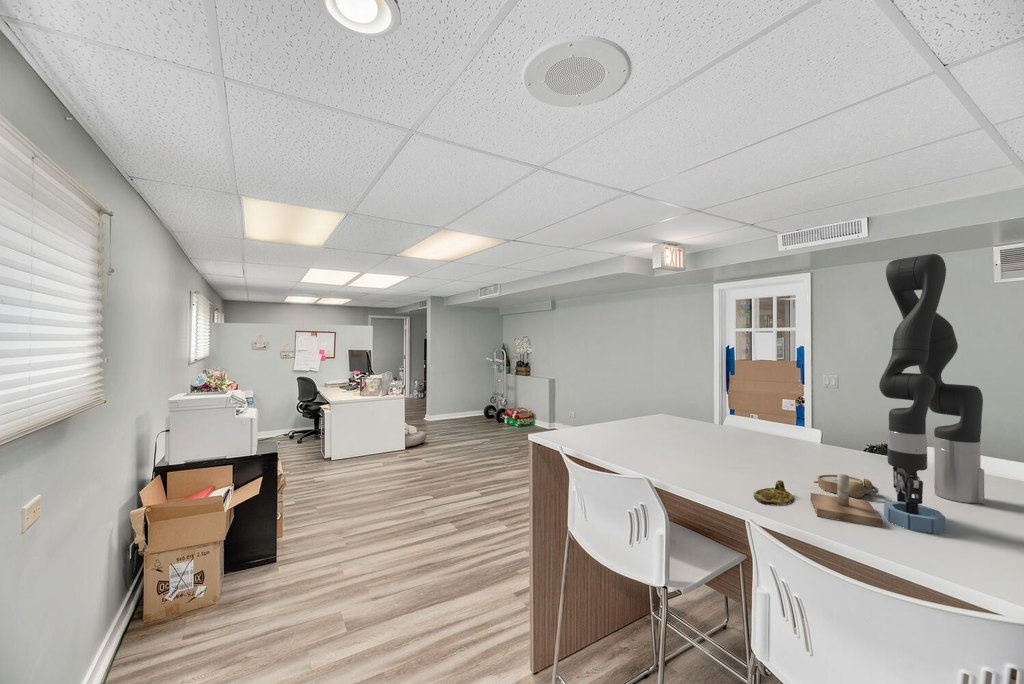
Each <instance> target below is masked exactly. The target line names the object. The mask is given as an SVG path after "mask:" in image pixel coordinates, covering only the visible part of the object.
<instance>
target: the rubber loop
mask: <svg viewBox="0 0 1024 684" xmlns="http://www.w3.org/2000/svg"><path fill="white" fill-rule="evenodd" d="M883 506H884V507H883V512H884V513H883V517H884V516H885V517H884V518H885V520H886V521H887V520H888V521H887V522H888V523H890V524H892V523H893V525H895V524H896V525H895V526H897V525H898V526H897V527H900V526H901V528H903V527H904V528H903V529H906V528H907V529H906V530H910V531H914V530H915V531H914V532H920V531H922V533H926V532H928V533H927V534H934V533H935V534H939V532H940V533H944V531H945V532H946V516H945V515H944V513H941V512H940V511H939V510H937V509H934V508H931V507H928V506H924V505H922V504H918V515H914V514H909V513H906V504H905V502H899V501H897V500H894V501H886V502H884V503H883Z"/></svg>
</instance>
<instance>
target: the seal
mask: <svg viewBox="0 0 1024 684" xmlns="http://www.w3.org/2000/svg"><path fill="white" fill-rule="evenodd" d="M753 498H754V499H755V501H757V502H758V503H760V504H766V505H771V504H772V505H771V506H785V504H787V505H789V504H788V503H790V504H792V503H793V502H794V497H793V495H792V493H791V492H789V491H787V489H786V488H785V484H784V481H783V480H777V481H776V482H775V486H774V487H768V488H767V487H766V488H761V489H758V490H756V491H754V492H753Z"/></svg>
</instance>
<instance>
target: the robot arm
mask: <svg viewBox="0 0 1024 684" xmlns="http://www.w3.org/2000/svg"><path fill="white" fill-rule="evenodd" d="M885 277H886V282H887V284H888V288H889V290H890V291H891V294H892V296H893V298H894V300H895V302H896V305H897V307H898V309H899V311H900V314H901V317H902V320H901V321H900V323H899V324H898V325H897V327H896V329H895V330H894V334H893V339H892V349H891V356H890V357H889V358H890V359H889V361H888V364H887V365H886V368H885V370H884V372H883V374H882V375H881V378H880V380H879V384H878V388H879V391H880V393H881V394H882V396H884V397H886V398H888V399H893V400H894V399H895V400H906V401H908V400H909V401H913V403H912V405H911V406H909V407H896V408H891V409H890V410H889V412H888V433H887V434H888V435H887V463H888V465H889V466H891V467H892V472H893V473H892V474H893V475H892V476H893V485H892V486H893V488H894V489H895V492H896V498H897V499H896V502H897V501H899V502H905V504H906V513H909V514H914V515H918V505H922V504H923V495H924V493H923V491H924V490H923V489H924V488H923V487H924V482H923V480H921V478H920V476H918V472H919V471H926V470H927V469H928V439H927V434H926V433H927V432H926V431H927V428H926V427H927V426H926V425H927V424H926V422H927V421H926V420H927V414H928V410H929V409H930V411H931V412H933V413H935V414H940V415H947V416H954V417H960V419H959V421H958V422H956V423H954V424H947V425H939V426H937V427H934V430H933V431H934V432H933V434H934V435H933V441H934V443H933V444H934V445H933V446H934V448H933V453H934V458H933V459H934V461H933V462H934V464H933V465H934V466H933V467H934V477H933V478H934V485H933V486H934V494H935V495H936V496H938V497H941V498H943V499H947V500H951V501H955V502H960V503H968V504H985V469H983V468H982V467H981V466H982V465H981V460H982V459H981V458H982V457H981V456H982V455H981V435H982V422H983V421H982V418H983V407H984V405H983V404H984V403H983V402H984V396H983V393H982V391H981V389H980V388H979V387H977V386H975V385H970V384H969V385H968V384H957V383H955V384H954V383H946V382H943V381H944V380H943V379H942V373H943V371H944V369H945V368H946V366H948V364H949V362H951V360H952V359H953V358H954V357H955V354H956V353H957V352H958V347H959V344H958V340H957V338H956V333H955V331H954V327H953V325H952V324H951V323H950V322H949V321H948V320H947V319H946V318H945V317H944V316H943V315H941V314H940V313H938V312H937V310H938V307H939V305H940V304H939V303H940V300H941V297H942V293H943V289H944V286H945V281H946V277H947V266H946V261H945V260H944V258H943V257H942V256H941V255H939V254H937V253H930V254H929V253H928V254H922V255H916V256H910V257H903V258H898V259H893V260H891V261H889V262H888V263H887V265H886V269H885ZM916 291H921V294H920V297H918V295H917V293H916ZM910 367H918V369H919V373H911V372H904V371H905V370H906V369H907V368H910ZM913 495H914V497H913Z"/></svg>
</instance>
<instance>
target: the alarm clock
mask: <svg viewBox="0 0 1024 684" xmlns="http://www.w3.org/2000/svg"><path fill="white" fill-rule="evenodd" d="M813 483H814V484H818V485H819V486H818V488H819V487H820V488H821V489H820V488H819V489H820V490H822V489H823V491H825V490H826V491H825V492H829V493H834V494H838V483H837V474H821V475H818V476H817V480H814V481H813ZM866 494H870V495H872V494H873V495H875V494H879V488H878V487H877V486H874V484H873V483H872V482H871V481H870V480H869V479H868V478H863V479H861V478H857V477H853V476H849V497H851V498H854V497H855V498H854V499H860V498H862V497H864V496H865V495H866Z"/></svg>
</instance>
